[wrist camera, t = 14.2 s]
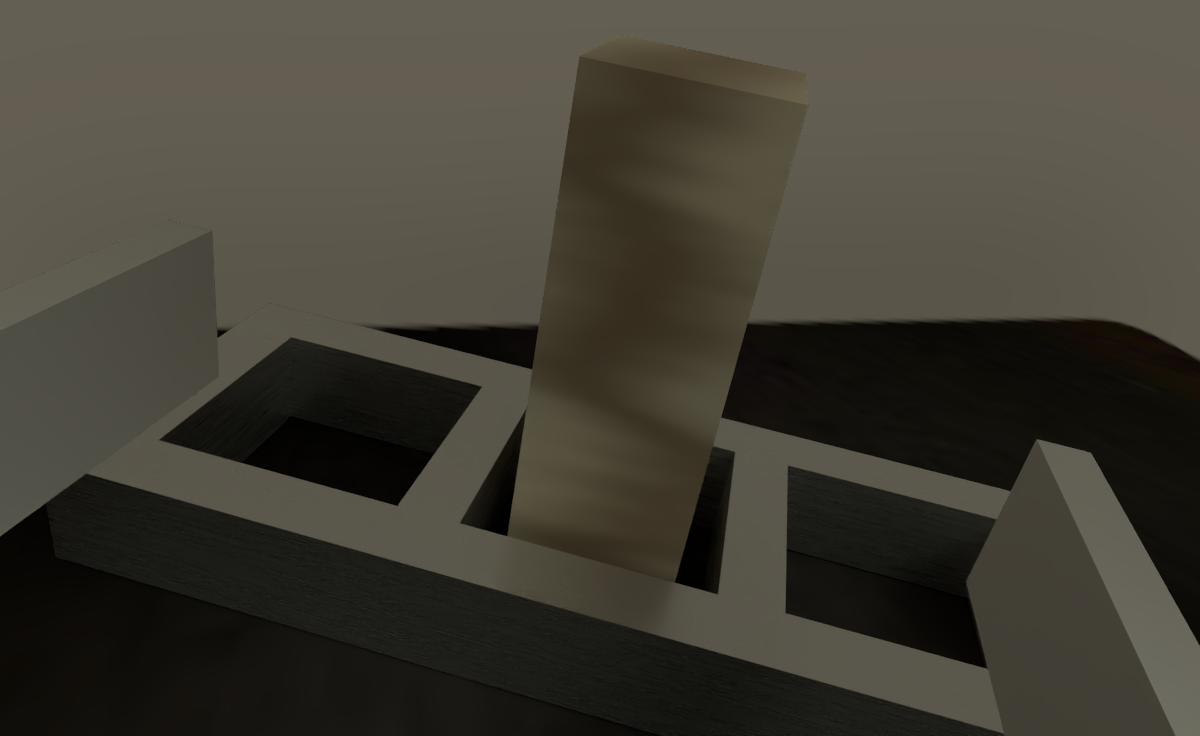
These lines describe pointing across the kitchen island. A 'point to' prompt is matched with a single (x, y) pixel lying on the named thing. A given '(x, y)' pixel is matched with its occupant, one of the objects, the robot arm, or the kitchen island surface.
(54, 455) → the robot arm
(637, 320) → the peg
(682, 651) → the grey flat slotted block
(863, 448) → the kitchen island surface
